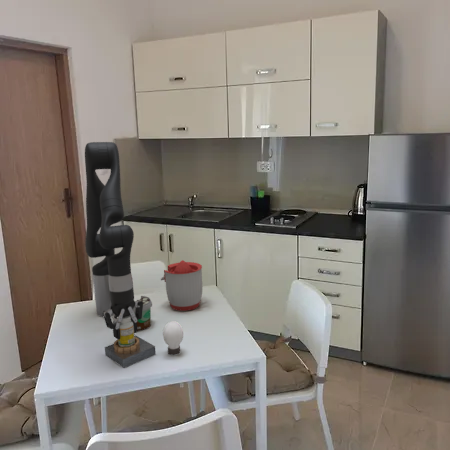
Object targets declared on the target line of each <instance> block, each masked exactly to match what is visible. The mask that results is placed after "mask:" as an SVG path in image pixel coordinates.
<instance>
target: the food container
mask: <svg viewBox="0 0 450 450" xmlns="http://www.w3.org/2000/svg"><path fill="white" fill-rule="evenodd" d="M139 300H140V301H142V302H143V310H142V318H141V319H139V320H138V321H137V331H136V332H140V331H144V330H147V329H149V328H150V327H151V325H152V324H151V321H152V319H151V318H152V315H151V312H152V311H151V310H152V309H151V308H152V307H153V302H152V300H151V298H150V297H148V296H145V295H141V296H140V299H139ZM135 309H136V307H135V306H134V309H133V312H134V314H135Z"/></svg>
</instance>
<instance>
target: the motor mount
mask: <svg viewBox="0 0 450 450" xmlns="http://www.w3.org/2000/svg"><path fill="white" fill-rule="evenodd" d="M134 337H135V343H134V344H133V345H131V346H128V347H121V346H119V344H118V339H116V340H115V341H114V342H113V343H112V344H109V345H107V346H104V355H105V357H107V358H108V359H110V360H111V361H113V362H115V363H116V364H117V365H119V366H120V367H121V368H123V369H125V368H128V367H130V366H132V365H135V364H137V363H139V362H141V361H143V360H144V361H145V360H146V359H148V358H149V359H150V358H151V357H154V356H156V355H157V353H156V345H153V344H152V343H150V342H148V341H147V340H145V339H143V338H141V337H139V336H138V335H135V334H134Z"/></svg>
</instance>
